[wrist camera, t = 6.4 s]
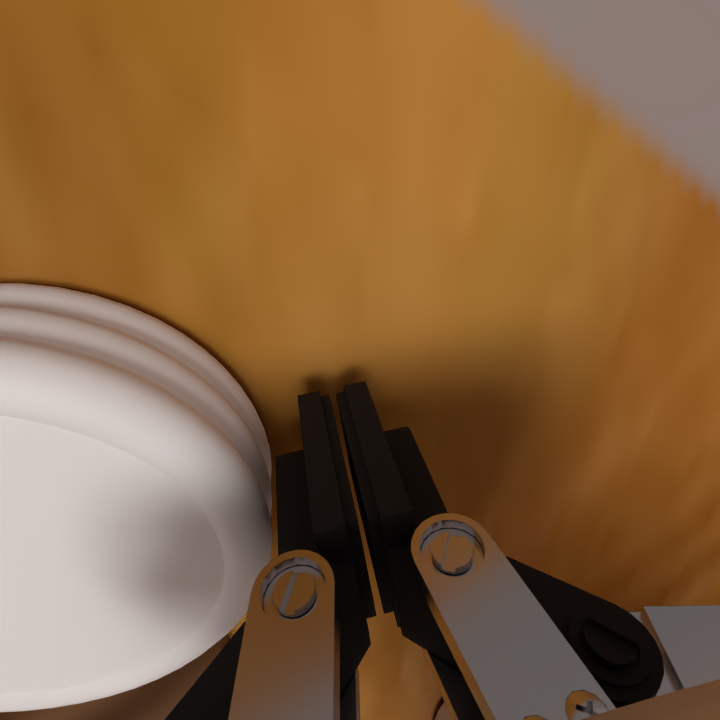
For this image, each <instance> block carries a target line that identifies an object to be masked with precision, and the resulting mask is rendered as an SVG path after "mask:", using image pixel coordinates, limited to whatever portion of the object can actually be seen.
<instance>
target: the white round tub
mask: <svg viewBox="0 0 720 720" xmlns="http://www.w3.org/2000/svg"><path fill="white" fill-rule="evenodd" d="M271 470H272V464H271V455H270V447H269V443H268V440H267V436H266V433H265V429H264V427H263V425H262V423H261V421H260V418H259V416H258V414H257V412H256V410H255V408H254V406H253V404H252V403H251V401H250V399H249V398H248V396H247V395H246V393H245V392H244V390H243V389H242V387H241V386H240V385H239V383H238V382H237V381H236V380H235V379H234V378H233V377H232V375H231V374H230V373H229V372H228V371H227V370H226V368H225V367H224V366H222V365H221V364H220V363H219V362H218V361H217V360H216V359H215V358H214V357H213V356H212V355H211V354H209V353H208V352H207V351H206V350H205V349H204V348H202V347H201V346H199V345H198V344H197V343H195V342H194V341H193V340H191V339H190V338H189V337H187V336H186V335H184V334H183V333H181V332H179V331H178V330H176V329H174V328H173V327H171V326H169V325H167V324H166V323H164V322H162V321H160V320H159V319H157V318H155V317H152V316H150V315H148V314H145V313H143V312H141V311H139V310H136V309H134V308H132V307H130V306H127V305H124V304H121V303H118V302H115V301H112V300H109V299H106V298H103V297H100V296H97V295H93V294H88V293H84V292H79V291H75V290H70V289H66V288H61V287H53V286H44V285H35V284H25V283H0V712H17V711H29V710H39V709H48V708H56V707H62V706H67V705H73V704H79V703H84V702H88V701H92V700H97V699H101V698H105V697H109V696H113V695H116V694H119V693H122V692H125V691H129V690H132V689H135V688H137V687H140V686H142V685H145V684H147V683H150V682H152V681H155V680H157V679H159V678H161V677H163V676H165V675H167V674H169V673H171V672H173V671H175V670H177V669H179V668H181V667H183V666H184V665H186V664H188V663H189V662H191V661H192V660H194V659H196V658H197V657H199V656H200V655H201V654H203V653H204V652H205V651H207V650H208V649H209V648H210V647H212V646H213V645H214V644H216V643H217V642H218V641H219V640H221V639H222V638H223V637H224V636H225V635H227V634H228V633H229V632H230V630H231V629H232V628H233V627H234V626H235V625H236V624H237V623H238V622H239V621H240V620H241V619H242V618H243V616H244V615H245V614H246V612H247V611H248V606H249V600H250V595H251V591H252V588H253V585H254V582H255V579H256V578H257V576H258V575H259V573H260V572H261V570H262V569H263V568H264V567H265V566H266V565H267V564H268V563H269V561H270V558H271V552H272V539H273V533H272V525H271V507H272V491H271Z"/></svg>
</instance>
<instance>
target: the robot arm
mask: <svg viewBox="0 0 720 720" xmlns="http://www.w3.org/2000/svg"><path fill="white" fill-rule="evenodd" d="M343 388H344V392H340V393H336V396H337V402H338V407H339V412H340V417H341V423H342V428H343V433H344V438H345V444H346V449H347V454H348V459H349V465H350V470H351V475H352V480H353V484H354V488H355V493H356V497H357V501H358V505H359V509H360V514H361V518H362V522H363V526H364V531H365V535H366V539H367V543H368V547H369V552H370V556H371V560H372V564H373V569H374V573H375V577H376V581H377V586H378V590H379V594H380V598H381V602H382V607H383V611H384V614H385V613H388V612H392V611H394V614H395V618H396V622H397V626H398V627H401V631H402V635H403V636H405V637H406V638H408V639H410V640H411V641H413V642H414V643H416V644H418V645H419V646H421V647H422V650H423V654H424V656H425V659H426V661H427V663H428V665H429V668H430V670H431V672H432V674H433V677H434V679H435V681H436V683H437V686H438V688H439V690H440V692H441V695H442V697H443V699H444V701H445V702H444V703H443V704H442V706H441V707H440V709H439V711H438V713H437V715H436V718H435V720H720V605H715V606H647V607H643V609H642V612H627V611H625V610H624V609H622V608H620V607H618V606H617V605H615V604H613V603H610V602H608V601H606V600H604V599H601V598H599V597H597V596H595V595H592V594H590V593H588V592H586V591H583V590H581V589H579V588H577V587H574V586H572V585H570V584H568V583H565V582H563V581H561V580H559V579H556V578H554V577H552V576H550V575H547V574H545V573H543V572H541V571H538V570H536V569H534V568H532V567H529V566H527V565H525V564H523V563H520V562H518V561H516V560H514V559H511V558H509V557H507V556H505V555H504V554H503V553H502V551H501V550H500V549H499V547H498V546H497V544H496V543H495V542H494V540H493V539H492V538H491V536H490V535H489V533H488V532H487V531H486V530H485V529H484V528H483V527H482V526H481V525H480V524H479V523H478V522H476V521H474V520H473V519H471V518H469V517H467V516H463V515H460V514H456V513H447V510H446V508H445V506H444V504H443V501H442V499H441V497H440V495H439V493H438V490H437V488H436V486H435V484H434V482H433V479H432V477H431V475H430V473H429V471H428V468H427V466H426V464H425V462H424V460H423V457H422V455H421V453H420V451H419V448H418V446H417V444H416V442H415V440H414V437H413V435H412V433H411V431H410V429H409V428H408V427H407V426H406V427H402V428H398V429H393V430H389V431H383V428H382V425H381V423H380V420H379V417H378V415H377V412H376V409H375V406H374V404H373V401H372V398H371V396H370V393H369V390H368V387H367V385H366V382H365V381H364V382H359V383H354V384H350V385H345V386H343ZM298 405H299V413H300V422H301V431H302V440H303V448H304V450H300V451H296V452H292V453H287V454H283V455H278V456H276V493H277V525H278V557H276V558H274V559H272V560H271V561H270V562H269V563H268V564H267V565H266V566H265V567H264V568H263V569H262V570H261V572H260V573H259V575H258V576H257V578H256V579H255V582H254V585H253V588H252V591H251V595H250V600H249V606H248V611H247V617H246V621H245V622H244V623H243V625H242V626H241V627H240V628H239V629H238V631H237V632H236V633H235V634H234V635H233V637H232V638H231V639H230V640H229V642H228V643H227V644H226V645H225V646H224V648H223V649H222V650H221V651H220V653H219V654H218V655H217V656H216V657H215V659H214V660H213V661H212V662H211V664H210V665H209V666H208V667H207V668H206V670H205V671H204V672H203V673H202V674H201V676H200V677H199V678H198V679H197V681H196V682H195V683H194V684H193V685H192V687H191V688H190V689H189V690H188V692H187V693H186V694H185V695H184V696H183V698H182V699H181V700H180V701H179V702H178V704H177V705H176V706H175V707H174V709H173V710H172V711H171V712H170V713H169V715H168V716H167V717H166V718H165V720H360V694H359V672H358V665H359V663H360V662H361V660H362V658H363V657H364V655H365V653H366V651H367V650H368V648H369V646H370V644H371V642H370V637H369V630H368V625H367V620H366V618H370V617H374V616H376V611H375V606H374V601H373V596H372V591H371V586H370V581H369V576H368V570H367V565H366V560H365V555H364V550H363V545H362V540H361V535H360V530H359V525H358V520H357V515H356V511H355V506H354V502H353V497H352V493H351V489H350V484H349V480H348V475H347V471H346V466H345V462H344V458H343V453H342V449H341V444H340V440H339V435H338V431H337V427H336V422H335V418H334V413H333V409H332V404H331V400H330V396H329V395H326V396H322V397H321V395H320V391H317V392H312V393H308V394H303V395H298Z"/></svg>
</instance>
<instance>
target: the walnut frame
mask: <svg viewBox="0 0 720 720" xmlns="http://www.w3.org/2000/svg"><path fill="white" fill-rule="evenodd" d="M228 642H229V638H228V637H227V635H225V636H224V637H223V638H222V639H221V640H219V641H218V642H217V643H216V644H214V645H213V646H212V647H210V648H209V649H208V650H207V651H205V652H204V653H203V654H201V655H200V656H199V657H197V658H196V659H194V660H192V661H191V662H189V663H188V664H186V665H184V666H183V667H181V668H179V669H177V670H175V671H173V672H171V673H169V674H167V675H165V676H163V677H161V678H159V679H157V680H155V681H152V682H150V683H147V684H145V685H142V686H140V687H137V688H135V689H132V690H129V691H125V692H122V693H119V694H116V695H113V696H109V697H105V698H101V699H97V700H92V701H88V702H84V703H79V704H73V705H67V706H62V707H56V708H48V709H39V710H29V711H17V712H0V720H165V718H166V717H167V716H168V715H169V713H170V712H171V711H172V710H173V709H174V707H175V706H176V705H177V704H178V702H179V701H180V700H181V699H182V698H183V696H184V695H185V694H186V693H187V692H188V690H189V689H190V688H191V687H192V685H193V684H194V683H195V682H196V681H197V679H198V678H199V677H200V676H201V674H202V673H203V672H204V671H205V670H206V668H207V667H208V666H209V665H210V664H211V662H212V661H213V660H214V659H215V657H216V656H217V655H218V654H219V653H220V651H221V650H222V649H223V648H224V646H225V645H226V644H227V643H228Z"/></svg>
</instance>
